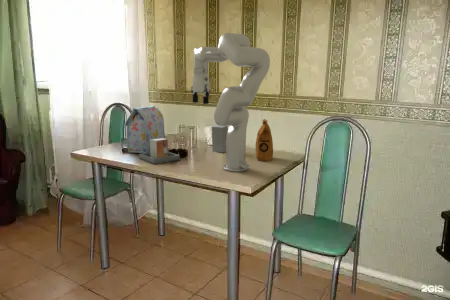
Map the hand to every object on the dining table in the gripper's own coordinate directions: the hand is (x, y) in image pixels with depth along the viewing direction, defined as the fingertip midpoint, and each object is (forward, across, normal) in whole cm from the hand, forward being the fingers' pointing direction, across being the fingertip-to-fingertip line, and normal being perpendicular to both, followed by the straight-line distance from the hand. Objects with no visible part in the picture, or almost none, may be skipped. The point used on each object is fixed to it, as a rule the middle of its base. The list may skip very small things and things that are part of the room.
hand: (200, 103), depth 197 cm
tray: (+30, +8, +22) cm, 38 cm away
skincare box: (+31, +4, -18) cm, 36 cm away
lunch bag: (+31, +34, +16) cm, 48 cm away
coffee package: (+31, -26, -25) cm, 47 cm away
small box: (+30, +8, +22) cm, 38 cm away
